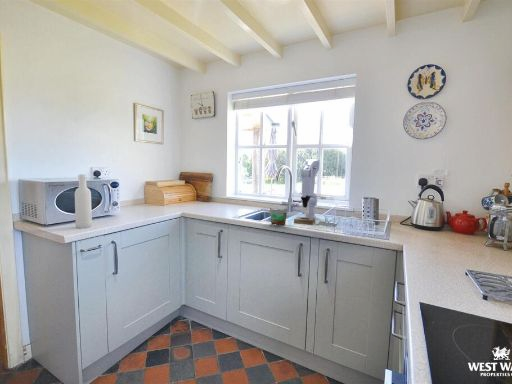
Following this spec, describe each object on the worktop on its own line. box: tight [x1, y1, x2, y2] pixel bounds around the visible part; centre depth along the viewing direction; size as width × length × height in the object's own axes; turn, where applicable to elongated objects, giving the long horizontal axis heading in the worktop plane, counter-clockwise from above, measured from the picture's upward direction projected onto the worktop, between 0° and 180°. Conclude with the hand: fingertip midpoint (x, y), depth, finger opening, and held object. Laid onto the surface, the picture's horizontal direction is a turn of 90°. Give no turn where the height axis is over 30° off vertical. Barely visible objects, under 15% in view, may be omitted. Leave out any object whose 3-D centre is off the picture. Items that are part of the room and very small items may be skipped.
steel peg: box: [301, 201, 309, 214], centre depth 175 cm, size 3×4×8 cm
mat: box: [316, 220, 338, 227], centre depth 172 cm, size 14×12×1 cm
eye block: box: [293, 216, 316, 225], centre depth 176 cm, size 12×12×2 cm
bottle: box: [74, 174, 93, 229], centre depth 148 cm, size 8×8×30 cm
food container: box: [269, 207, 289, 226], centre depth 166 cm, size 12×6×10 cm, turn 62°
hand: (305, 207), depth 175 cm, fingers closed on steel peg, 3 cm apart
